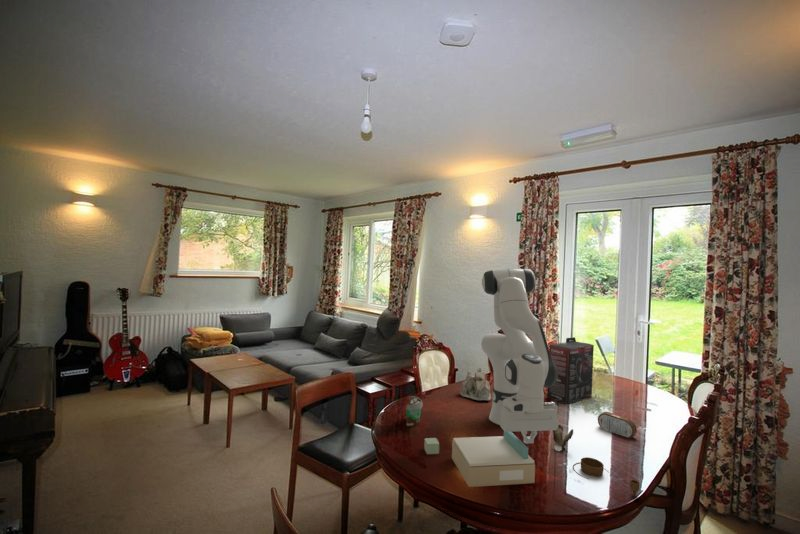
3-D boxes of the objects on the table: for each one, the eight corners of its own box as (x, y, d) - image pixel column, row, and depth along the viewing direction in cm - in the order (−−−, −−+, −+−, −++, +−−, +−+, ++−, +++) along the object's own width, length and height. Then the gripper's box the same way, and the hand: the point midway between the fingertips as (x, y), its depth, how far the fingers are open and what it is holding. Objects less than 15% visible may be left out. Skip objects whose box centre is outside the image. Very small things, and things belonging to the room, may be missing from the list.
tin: (636, 440, 156) (637, 420, 156) (633, 442, 154) (634, 422, 154) (599, 427, 168) (600, 408, 168) (596, 429, 166) (597, 410, 166)
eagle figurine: (574, 450, 145) (575, 427, 145) (571, 458, 139) (572, 434, 139) (553, 444, 149) (554, 422, 149) (550, 452, 143) (551, 428, 143)
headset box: (572, 390, 219) (574, 334, 219) (593, 397, 208) (595, 338, 208) (546, 397, 205) (548, 337, 205) (567, 405, 195) (569, 341, 195)
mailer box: (509, 457, 137) (510, 438, 137) (534, 486, 119) (535, 464, 119) (451, 460, 134) (452, 440, 134) (468, 490, 116) (469, 467, 116)
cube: (435, 449, 141) (436, 437, 141) (438, 455, 137) (439, 443, 137) (424, 450, 141) (424, 438, 141) (426, 456, 136) (427, 443, 136)
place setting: (609, 468, 133) (610, 452, 133) (643, 504, 113) (644, 484, 113) (559, 465, 134) (560, 449, 134) (584, 500, 114) (585, 481, 114)
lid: (509, 438, 137) (510, 426, 137) (534, 463, 120) (534, 449, 120) (453, 440, 134) (453, 428, 134) (469, 466, 116) (470, 452, 116)
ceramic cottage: (459, 391, 210) (460, 364, 210) (489, 393, 208) (490, 366, 208) (460, 401, 195) (461, 372, 195) (492, 403, 193) (493, 374, 193)
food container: (419, 430, 158) (420, 406, 158) (405, 428, 159) (406, 404, 159) (423, 418, 170) (424, 396, 170) (410, 417, 171) (411, 395, 171)
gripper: (552, 398, 134) (551, 437, 134) (498, 399, 130) (497, 439, 130) (563, 405, 127) (561, 445, 127) (506, 406, 124) (504, 448, 124)
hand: (528, 442), depth 129 cm, fingers closed
